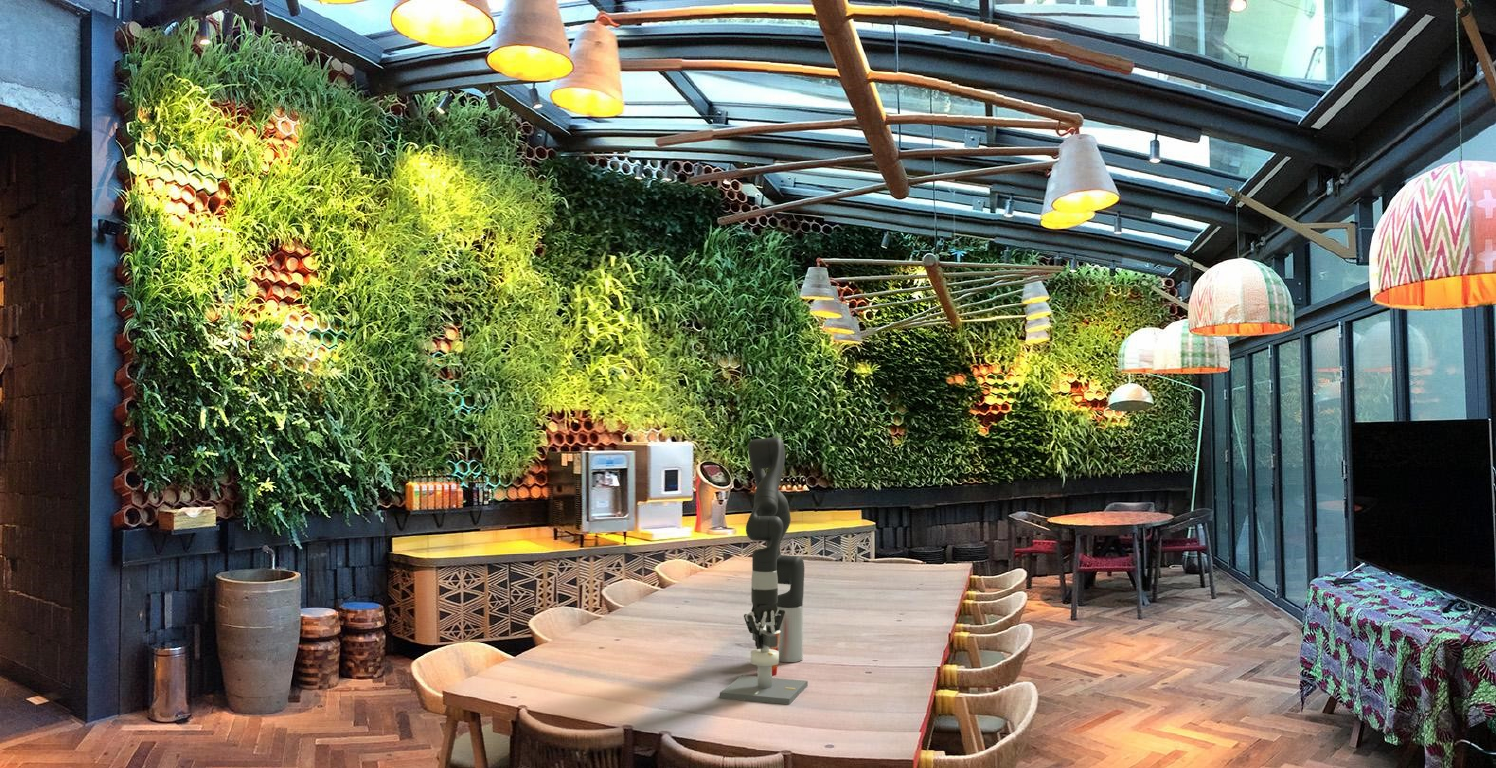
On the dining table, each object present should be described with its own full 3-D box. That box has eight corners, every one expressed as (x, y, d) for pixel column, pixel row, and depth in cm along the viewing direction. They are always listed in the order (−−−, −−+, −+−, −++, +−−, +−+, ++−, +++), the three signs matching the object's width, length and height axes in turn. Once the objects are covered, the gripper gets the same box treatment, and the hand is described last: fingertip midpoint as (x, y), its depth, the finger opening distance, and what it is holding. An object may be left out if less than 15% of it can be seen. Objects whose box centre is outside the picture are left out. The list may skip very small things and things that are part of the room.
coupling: (743, 659, 284) (743, 630, 284) (768, 657, 287) (768, 627, 288) (760, 668, 274) (760, 637, 274) (786, 665, 278) (786, 634, 278)
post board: (742, 680, 293) (742, 653, 293) (807, 686, 287) (807, 658, 287) (719, 698, 274) (719, 668, 274) (789, 704, 268) (789, 674, 268)
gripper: (775, 582, 289) (775, 641, 288) (737, 587, 280) (736, 648, 280) (791, 585, 283) (791, 646, 282) (753, 590, 274) (753, 653, 274)
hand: (764, 647), depth 281 cm, fingers closed on coupling, 3 cm apart
